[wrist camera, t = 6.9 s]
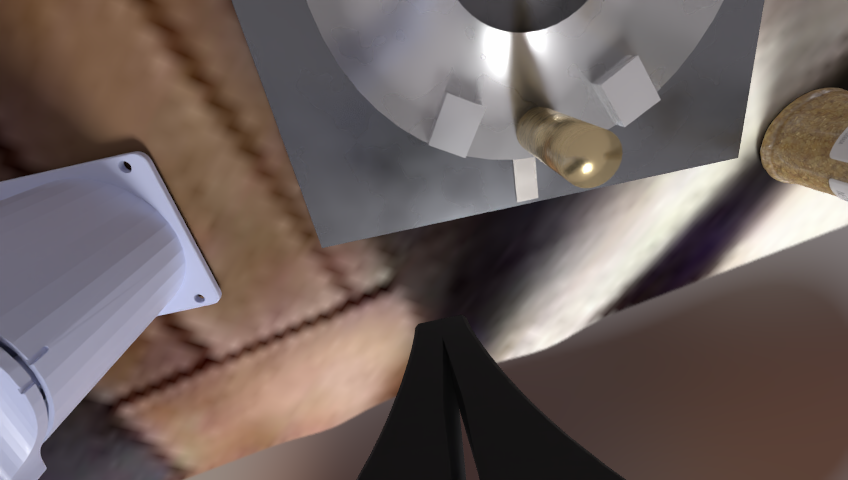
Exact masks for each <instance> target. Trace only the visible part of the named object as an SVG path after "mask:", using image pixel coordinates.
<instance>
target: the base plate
mask: <svg viewBox="0 0 848 480" xmlns="http://www.w3.org/2000/svg"><path fill="white" fill-rule="evenodd" d="M232 3H233V5H234V8H235V11H236V14H237V16H238V19H239V22H240V24H241V27H242V30H243V33H244V35H245V38H246V41H247V44H248V46H249V49H250V52H251V55H252V57H253V60H254V63H255V66H256V68H257V71H258V74H259V76H260V79H261V82H262V85H263V87H264V90H265V93H266V96H267V98H268V101H269V104H270V107H271V109H272V112H273V115H274V118H275V120H276V123H277V126H278V128H279V131H280V134H281V137H282V139H283V142H284V145H285V148H286V150H287V153H288V156H289V159H290V161H291V164H292V167H293V170H294V172H295V175H296V178H297V180H298V183H299V186H300V189H301V191H302V194H303V197H304V200H305V202H306V205H307V208H308V211H309V213H310V216H311V219H312V222H313V224H314V227H315V230H316V232H317V235H318V238H319V241H320V243H321V246H322V248H324V247H328V246H333V245H338V244H342V243H347V242H352V241H356V240H361V239H365V238H370V237H375V236H379V235H384V234H388V233H393V232H398V231H402V230H407V229H411V228H416V227H421V226H425V225H430V224H435V223H439V222H444V221H448V220H453V219H458V218H462V217H467V216H471V215H476V214H481V213H485V212H490V211H495V210H499V209H504V208H508V207H513V206H518V205H522V204H527V203H531V202H536V201H541V200H545V199H550V198H555V197H559V196H564V195H568V194H573V193H578V192H582V191H587V190H591V189H596V188H601V187H605V186H610V185H615V184H619V183H624V182H628V181H633V180H638V179H642V178H647V177H651V176H656V175H661V174H665V173H670V172H675V171H679V170H684V169H688V168H693V167H698V166H702V165H707V164H711V163H716V162H721V161H725V160H730V159H734V158H738V155H739V149H740V143H741V137H742V131H743V125H744V119H745V113H746V107H747V101H748V95H749V89H750V83H751V77H752V71H753V65H754V59H755V53H756V47H757V41H758V35H759V29H760V23H761V17H762V11H763V5H764V0H724V1H723V3H722V4H721V6H720V8H719V10H718V12H717V14H716V16H715V18H714V20H713V21H712V23H711V24H710V26H709V27H708V29H707V30H706V32H705V33H704V35H703V37H702V38H701V40H700V41H699V43H698V44H697V46H696V47H695V49H694V50H693V51H692V52H691V54H690V55H689V56H688V57H687V59H686V60H685V61H684V63H683V64H682V65H681V66H680V68H679V69H678V70H677V71H676V73H675V74H674V75H673V76H672V77H671V78H670V79H669V80H668V81H667V82H666V83H665V84H664V85H663V86H662V87H661V88H660V89H659V90H658V91H657V93H658V95H659V97H660V99H661V100H660V101H659V102H657V103H656V104H655V105H653V106H652V107H651V108H649V109H648V110H647V111H645V112H644V113H643V114H642V115H640V116H639V117H638V118H636V119H635V120H634V121H632V122H631V123H630V124H628V125H627V126H626V127H622V126H619V125H614V126H613V127H612V128H610V129H608V130H609V131H611V132H613V133H614V134H615V135H616V136H617V137H618V138H619V140H620V142H621V145H622V152H623V154H622V160H621V163H620V166H619V168H618V169H617V171H616V172H615V174H614V175H613V176H612V177H611V178H610V179H609V180H608V181H606V182H605V183H603V184H601V185H599V186H597V187H593V188H580V187H577V186H574V185H573V184H571V183H570V182H569V181H567V180H566V179H565V178H563V177H562V176H561V175H559V174H558V173H556V172H555V171H554V170H552V169H551V168H550V167H548V166H547V165H546V164H544V163H543V162H542V161H540V160H539V159H538V158H536V157H532V158H524V159H516V160H490V159H483V158H475V157H468V156H466V158H463V157H461V156H458V155H455V154H452V153H449V152H446V151H444V150H441V149H438V148H435V147H432V146H429V145H428V143H426V142H424V141H422V140H420V139H418V138H417V137H415V136H413V135H411V134H410V133H408V132H406V131H405V130H403V129H401V128H400V127H398V126H397V125H396V124H394V123H393V122H392V121H391V120H389V119H388V118H387V117H386V116H384V115H383V114H382V113H381V112H379V111H378V110H377V109H376V108H375V107H374V106H373V105H372V104H371V103H370V102H369V101H368V100H367V99H366V98H365V97H364V96H363V95H362V94H361V93H360V92H359V91H358V90H357V88H356V87H355V86H354V84H353V83H352V82H351V81H350V79H349V78H348V77H347V75H346V74H345V73H344V71H343V70H342V69H341V68H340V66H339V65H338V63H337V61H336V60H335V58H334V56H333V55H332V53H331V51H330V50H329V48H328V46H327V45H326V43H325V41H324V39H323V38H322V35H321V33H320V31H319V29H318V27H317V24H316V22H315V20H314V18H313V16H312V13H311V11H310V9H309V7H308V4H307V1H306V0H232Z"/></svg>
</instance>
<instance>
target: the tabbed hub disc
mask: <svg viewBox="0 0 848 480" xmlns="http://www.w3.org/2000/svg"><path fill="white" fill-rule="evenodd" d="M306 1H307V4H308V7H309V9H310V11H311V13H312V16H313V18H314V20H315V22H316V24H317V27H318V29H319V31H320V33H321V35H322V38H323V39H324V41H325V43H326V45H327V46H328V48H329V50H330V51H331V53H332V55H333V56H334V58H335V60H336V61H337V63H338V65H339V66H340V68H341V69H342V70H343V71H344V73H345V74H346V75H347V77H348V78H349V79H350V81H351V82H352V83H353V84H354V86H355V87H356V88H357V90H358V91H359V92H360V93H361V94H362V95H363V96H364V97H365V98H366V99H367V100H368V101H369V102H370V103H371V104H372V105H373V106H374V107H375V108H376V109H377V110H378V111H379V112H381V113H382V114H383V115H384V116H386V117H387V118H388V119H389V120H391V121H392V122H393V123H394V124H396V125H397V126H398V127H400V128H401V129H403V130H405V131H406V132H408V133H410V134H411V135H413V136H415V137H417V138H418V139H420V140H422V141H424V142H426V143H428V145H429V146H432V147H435V148H438V149H441V150H444V151H446V152H449V153H452V154H455V155H458V156H461V157H463V158H466V156H468V157H475V158H483V159H490V160H516V159H524V158H532V157H536V158H538V159H539V160H540V161H542V162H543V163H544V164H546V165H547V166H548V167H550V168H551V169H552V170H554V171H555V172H556V173H558V174H559V175H561V176H562V177H563V178H565V179H566V180H567V181H569V182H570V183H571V184H573V185H574V186H577V187H580V188H593V187H597V186H599V185H601V184H603V183H605V182H606V181H608V180H609V179H610V178H611V177H612V176H613V175H614V174H615V172H616V171H617V169H618V168H619V166H620V163H621V160H622V154H623V152H622V145H621V142H620V140H619V138H618V137H617V136H616V135H615V134H614V133H613V132H611V131H609V130H608V129H610V128H612V127H613V126H614V125H619V126H622V127H626V126H627V125H628V124H630V123H631V122H632V121H634V120H635V119H636V118H638V117H639V116H640V115H642V114H643V113H644V112H645V111H647V110H648V109H649V108H651V107H652V106H653V105H655V104H656V103H657V102H659V101H660V100H661V99H660V97H659V95H658V93H657V91H658V90H659V89H660V88H661V87H662V86H663V85H664V84H665V83H666V82H667V81H668V80H669V79H670V78H671V77H672V76H673V75H674V74H675V73H676V71H677V70H678V69H679V68H680V66H681V65H682V64H683V63H684V61H685V60H686V59H687V57H688V56H689V55H690V54H691V52H692V51H693V50H694V49H695V47H696V46H697V44H698V43H699V41H700V40H701V38H702V37H703V35H704V33H705V32H706V30H707V29H708V27H709V26H710V24H711V23H712V21H713V20H714V18H715V16H716V14H717V12H718V10H719V8H720V6H721V4H722V3H723V1H724V0H306Z"/></svg>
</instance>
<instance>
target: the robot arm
mask: <svg viewBox="0 0 848 480" xmlns="http://www.w3.org/2000/svg"><path fill="white" fill-rule="evenodd" d="M124 161H125V162H127V163H129V164H130V165H131V168H132V169H131V170H128V169H127V168H126V167H125V166H124ZM198 294H200V295H202V296H203V297H204V298H200V297H199V296H198ZM221 296H222V293H221V290H220V288H219V286H218V284H217V282H216V280H215V279H214V277H213V275H212V273H211V271H210V269H209V267H208V265H207V263H206V262H205V260H204V258H203V256H202V254H201V252H200V250H199V248H198V246H197V245H196V243H195V241H194V239H193V237H192V235H191V233H190V231H189V229H188V228H187V226H186V224H185V222H184V220H183V218H182V216H181V214H180V213H179V211H178V209H177V207H176V205H175V203H174V201H173V199H172V197H171V196H170V194H169V192H168V190H167V188H166V186H165V184H164V182H163V180H162V179H161V177H160V175H159V173H158V171H157V169H156V167H155V165H154V163H153V162H152V160H151V158H150V157H149V156H148V155H147V154H145V153H143V152H140V151H134V152H129V153H125V154H121V155H116V156H112V157H107V158H103V159H98V160H94V161H89V162H85V163H81V164H76V165H72V166H67V167H63V168H58V169H54V170H49V171H45V172H41V173H36V174H32V175H27V176H23V177H18V178H14V179H10V180H5V181H1V182H0V480H38V479H39V477H40V476H41V475H42V474H43V472H44V471H45V470H46V469H47V468H46V465H45V464H44V462H43V461H42V459H41V455H40V448H41V445H42V444H43V443H44V442H45V441H46V440H47V439H48V437H49V436H50V435H51V434H52V433H53V432H54V431H55V430H56V428H57V427H58V426H59V425H60V424H61V423H62V422H63V421H64V419H65V418H66V417H67V416H68V415H69V414H70V413H71V412H72V410H73V409H74V408H75V407H76V406H77V405H78V404H79V403H80V401H81V400H82V399H83V398H84V397H85V396H86V395H87V394H88V392H89V391H90V390H91V389H92V388H93V387H94V386H95V385H96V383H97V382H98V381H99V380H100V379H101V378H102V377H103V376H104V374H105V373H106V372H107V371H108V370H109V369H110V368H111V367H112V365H113V364H114V363H115V362H116V361H117V360H118V359H119V358H120V357H121V355H122V354H123V353H124V352H125V351H126V350H127V349H128V348H129V346H130V345H131V344H132V343H133V342H134V341H135V340H136V339H137V337H138V336H139V335H140V334H141V333H142V332H143V331H144V330H145V328H146V327H147V326H148V325H149V324H150V323H151V322H152V321H153V319H154V318H155V317H156V316H159V315H164V314H169V313H173V312H178V311H183V310H187V309H192V308H197V307H201V306H206V305H211V304H214V303H217V302H218V301H219V299H220V298H221ZM459 409H460V412H459ZM460 413H461V416H462V419H463V423H464V426H465V430H466V433H467V436H468V440H469V444H470V447H471V450H472V454H473V457H474V461H475V464H476V467H477V471H478V474H479V479H480V480H626V479H624V478H623V477H622V476H620V475H619V474H617V473H616V472H614V471H613V470H612V469H610V468H609V467H608V466H606V465H605V464H604V463H602V462H601V461H600V460H599V459H597V458H596V457H595V456H594V455H592V454H591V453H590V452H589V451H587V450H586V449H585V448H583V447H582V446H581V445H580V444H578V443H577V442H576V441H575V440H573V439H572V438H571V437H570V436H568V435H567V434H566V433H565V432H563V431H562V430H561V429H560V428H559V427H558V426H557V425H556V424H555V423H553V422H552V421H551V420H550V419H549V418H548V417H547V416H546V415H545V414H544V413H543V412H541V411H540V410H539V409H538V408H537V407H536V406H535V405H534V404H533V403H532V402H531V401H530V400H529V399H528V398H527V397H526V396H525V395H524V394H523V393H522V392H521V391H520V390H519V389H518V388H517V387H516V385H515V384H514V383H513V382H512V381H511V380H510V379H509V378H508V377H507V376H506V374H505V373H504V372H503V371H502V370H501V368H500V367H499V366H498V365H497V363H496V362H495V361H494V360H493V358H492V357H491V356H490V355H489V353H488V352H487V351H486V349H485V348H484V347H483V345H482V344H481V342H480V341H479V340H478V338H477V337H476V335H475V333H474V332H473V330H472V329H471V327H470V325H469V323H468V321H467V319H466V317H464V316H463V315H458V316H454V317H449V318H444V319H439V320H435V321H430V322H425V323H420V324H418V325H417V327H416V328H415V335H414V340H413V345H412V349H411V353H410V357H409V360H408V364H407V367H406V370H405V373H404V376H403V379H402V383H401V385H400V388H399V391H398V393H397V396H396V398H395V401H394V404H393V406H392V409H391V411H390V414H389V416H388V418H387V421H386V423H385V426H384V427H383V430H382V432H381V434H380V436H379V438H378V440H377V442H376V444H375V446H374V448H373V450H372V452H371V454H370V456H369V458H368V460H367V461H366V464H365V465H364V467H363V469H362V470H361V473H360V474H359V476H358V478H357V480H466V474H465V463H464V453H463V442H462V432H461V423H460Z"/></svg>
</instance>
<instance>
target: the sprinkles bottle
mask: <svg viewBox="0 0 848 480" xmlns="http://www.w3.org/2000/svg"><path fill="white" fill-rule="evenodd" d="M760 155H761V162H762V165H763V167H764V168H765V169H766V171H767V172H768V174H769V175H770V176H771V177H773V178H774V179H776V180H778V181H782V182H785V183H790V184H799V185H802V186H805V187H809V188H812V189H814V190H818V191H821V192H825V193H828V194H831V195H834V196H837V197H839V198H840V199H842V200H845V201H848V91H847V90H843V89H841V88H823V89H817V90H813V91H810V92H809V93H806V94H804V95H802V96H800V97H799V98H797V99H796V100H795V101H793V102H792V103H790V104H789V105H788V106H787V107H786V108H784V109H783V110H782V111H781V112H780V114H779V115H778V116H777V117H776V118H775V119H774V120H773V122H772V123H771V125H770V126H769V128H768V129H767V131H766V134H765V137H764V139H763V142H762V146H761V149H760Z"/></svg>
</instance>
